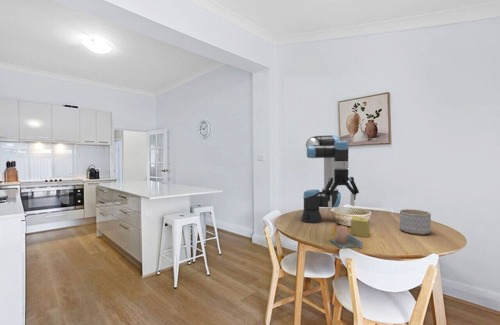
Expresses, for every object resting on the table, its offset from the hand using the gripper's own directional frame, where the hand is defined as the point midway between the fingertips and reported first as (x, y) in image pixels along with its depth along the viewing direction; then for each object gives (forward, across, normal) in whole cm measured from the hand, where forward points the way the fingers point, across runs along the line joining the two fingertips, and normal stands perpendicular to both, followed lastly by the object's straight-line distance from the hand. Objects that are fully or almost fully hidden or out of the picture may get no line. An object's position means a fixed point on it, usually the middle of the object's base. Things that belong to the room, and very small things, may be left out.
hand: (341, 206), depth 137 cm
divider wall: (+21, +6, -2) cm, 22 cm away
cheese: (+22, +19, +12) cm, 31 cm away
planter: (+22, +56, +10) cm, 61 cm away
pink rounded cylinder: (+20, -1, -2) cm, 20 cm away
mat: (+21, -1, -2) cm, 21 cm away
